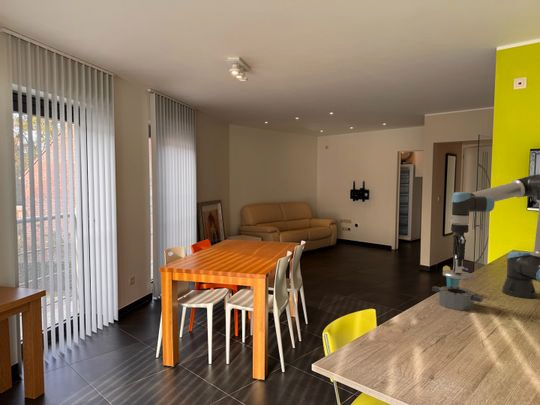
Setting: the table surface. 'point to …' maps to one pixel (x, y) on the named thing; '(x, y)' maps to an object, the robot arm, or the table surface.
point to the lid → (457, 275)
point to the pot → (456, 297)
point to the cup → (452, 281)
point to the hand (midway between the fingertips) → (457, 271)
